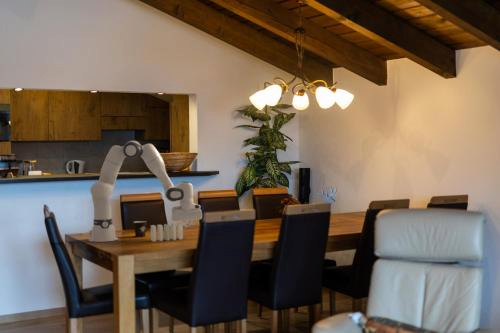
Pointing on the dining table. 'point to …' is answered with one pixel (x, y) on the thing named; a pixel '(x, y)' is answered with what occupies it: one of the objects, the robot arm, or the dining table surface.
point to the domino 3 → (166, 232)
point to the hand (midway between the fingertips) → (187, 227)
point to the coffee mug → (140, 228)
